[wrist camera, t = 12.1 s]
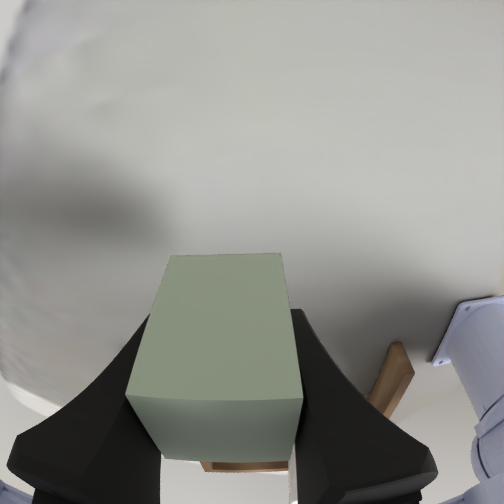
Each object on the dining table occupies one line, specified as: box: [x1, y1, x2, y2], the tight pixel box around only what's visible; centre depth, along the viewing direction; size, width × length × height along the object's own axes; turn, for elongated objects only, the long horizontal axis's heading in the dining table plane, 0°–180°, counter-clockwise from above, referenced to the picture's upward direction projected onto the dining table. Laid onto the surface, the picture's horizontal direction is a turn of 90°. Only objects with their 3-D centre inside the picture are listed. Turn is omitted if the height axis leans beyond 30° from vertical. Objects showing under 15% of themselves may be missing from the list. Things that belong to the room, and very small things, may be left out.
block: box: [125, 253, 303, 462], centre depth 10 cm, size 4×4×6 cm
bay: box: [200, 342, 415, 472], centre depth 28 cm, size 19×19×4 cm
